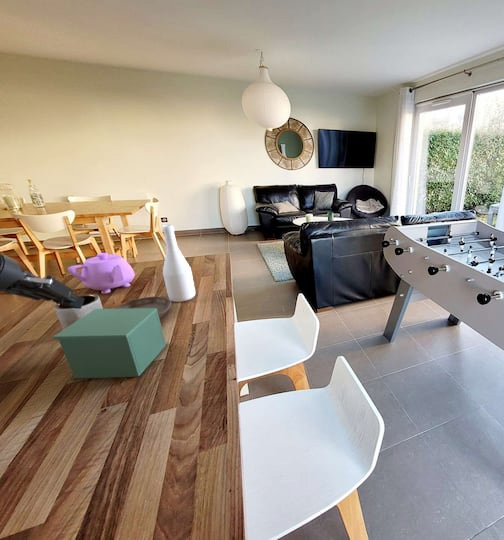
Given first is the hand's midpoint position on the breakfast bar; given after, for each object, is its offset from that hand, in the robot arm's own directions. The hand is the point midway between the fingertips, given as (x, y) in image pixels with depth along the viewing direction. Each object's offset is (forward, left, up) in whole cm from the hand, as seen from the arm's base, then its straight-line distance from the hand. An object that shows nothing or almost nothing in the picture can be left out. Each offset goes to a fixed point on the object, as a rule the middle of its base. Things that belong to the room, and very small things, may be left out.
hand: (79, 303), depth 74 cm
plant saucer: (-3, +25, -19) cm, 32 cm away
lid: (+6, 0, -6) cm, 8 cm away
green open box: (+6, 0, -19) cm, 20 cm away
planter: (-17, +18, -19) cm, 31 cm away
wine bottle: (+4, +39, -19) cm, 44 cm away
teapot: (-29, +47, -19) cm, 58 cm away
